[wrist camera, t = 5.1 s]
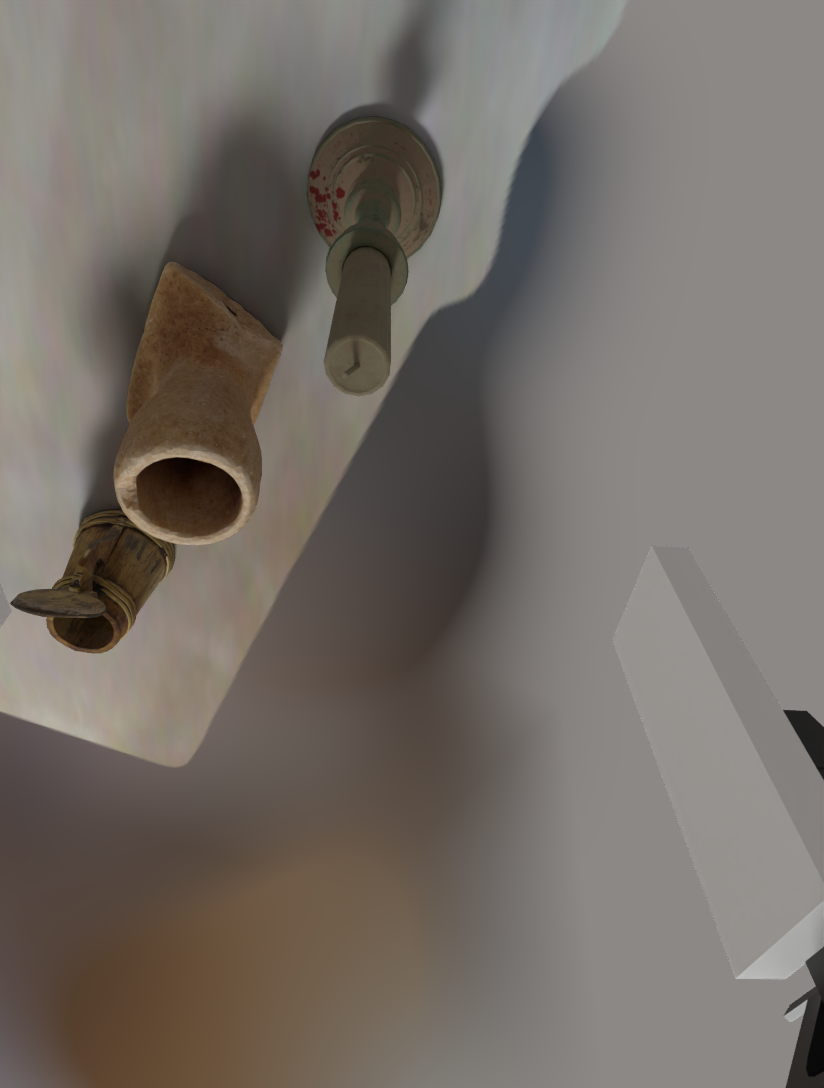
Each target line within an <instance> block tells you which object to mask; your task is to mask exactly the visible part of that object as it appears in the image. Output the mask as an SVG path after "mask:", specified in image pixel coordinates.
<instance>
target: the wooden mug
mask: <svg viewBox="0 0 824 1088" xmlns="http://www.w3.org/2000/svg"><path fill="white" fill-rule="evenodd" d="M73 548H74V549H73V551H72V554H71V557H70V559H69V562H68V564H67V567H66V570H65V572H64V575H63V577H62V579H60V580H58V581H57V582H56V583H55V585H54V586H53V587H52V589H39V590H31V591H27V592H23V593H20V594H19V595H17V596H16V598H15V599H14V600H13V601H12V602H11V603H10V604H11V605H12V606H14V607H15V608H17V609H19V610H21V611H23V612H26V613H30V614H33V615H38V616H42V617H47V619H46V621H47V628H48V630H49V632H50V634H51V635H52V636H53V637H54V638H55V639H56V640H57V641H59V642H60V643H62V644H64V645H65V646H67V647H69V648H71V649H73V650H75V651H81V652H87V653H103V652H106V651H108V650H110V649H112V648H113V647H114V646H115V645H116V644H117V643H118V642H119V640H120V639H122V638H124V637H125V635H126V634H127V633H128V632H129V630H130V629H131V628H132V626H133V625H134V623H135V620H136V615H137V614H138V612H139V611H140V609H141V608H142V606H143V605H144V604H145V602H146V601H147V599H148V598H149V596H150V595H151V594H152V592H153V591H154V589H155V588H156V586H157V585H158V584H159V583H160V582H161V581H162V580H163V579H164V578H165V577H166V576H167V575H168V573H169V572H170V571H171V569H172V567H173V564H174V561H175V551H174V547H173V544H172V543H170V542H167V541H164V540H161V539H158V538H156V537H153V536H151V535H150V534H148V533H146V532H145V531H143V530H141V529H140V528H139V527H137V526H136V525H135V524H134V523H133V522H132V521H131V520H130V519H129V518H128V517H127V516H126V514H125V513H124V512H123V511H119V510H113V511H103V512H99V513H95V514H93V515H91V516H89V517H87V518H85V519H84V520H83V522H82V524H81V525H80V527H79V529H78V531H77V533H76V535H75V537H74V543H73Z"/></svg>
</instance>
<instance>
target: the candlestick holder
mask: <svg viewBox="0 0 824 1088" xmlns="http://www.w3.org/2000/svg"><path fill="white" fill-rule="evenodd" d="M307 197H308V202H309V207H310V212H311V216H312V219H313V221H314V223H315V225H316V227H317V230H318V232H319V234H320V235H321V236H322V238H323V239H324V240H325V241H326V243H327V244H328V245H329V247H330V249H329V252H328V255H327V258H326V276H327V281H328V284H329V286H330V288H331V290H332V293H333V294H334V295H335V296H336V298H337V301H336V305H335V310H334V315H333V320H332V325H331V330H330V334H329V339H328V344H327V349H326V354H325V359H324V365H325V371H326V375H327V377H328V378H329V380H330V381H331V383H332V384H333V386H334V387H336V388H338V389H339V390H341V391H342V392H344V393H345V394H350V395H355V396H363V395H368V394H372V393H374V392H375V391H377V390H378V389H379V388H381V387H382V386H383V385H384V383H385V382H386V380H387V378H388V377H389V374H390V364H391V305H392V304H394V303H395V302H396V301H397V300H398V298H399V297H400V296H401V294H402V293H403V291H404V288H405V286H406V283H407V278H408V263H407V259H408V258H409V257H410V256H412V255H413V254H414V253H415V252H417V251H418V250H419V249H420V248H421V247H422V246H423V244H424V243H425V242H426V240H427V239H428V238H429V236H430V235H431V233H432V231H433V228H434V226H435V223H436V221H437V219H438V215H439V209H440V202H441V188H440V177H439V174H438V171H437V168H436V165H435V162H434V159H433V157H432V156H431V154H430V152H429V151H428V149H427V147H426V146H425V144H424V143H423V141H422V140H420V139H419V138H418V137H417V136H416V135H415V134H414V133H413V132H412V131H411V130H410V129H409V128H407V127H405V126H403V125H401V124H399V123H397V122H395V121H393V120H391V119H385V118H379V117H374V116H372V117H365V118H358V119H354V120H352V121H350V122H347V123H345V124H343V125H341V126H339V127H337V128H336V129H335V130H334V131H333V132H332V133H331V134H330V135H329V136H328V137H327V138H326V139H325V140H324V141H323V142H322V144H321V146H320V147H319V149H318V151H317V152H316V154H315V156H314V158H313V161H312V165H311V168H310V172H309V175H308V193H307Z"/></svg>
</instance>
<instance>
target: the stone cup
mask: <svg viewBox="0 0 824 1088" xmlns="http://www.w3.org/2000/svg"><path fill="white" fill-rule="evenodd" d="M281 351H282V344H281V342H280V341H279V340H278V339H277V338H276V337H274V336H272V335H271V334H270V333H269V332H268V331H267V329H266V328H265V327H264V326H263V325H262V323H261V322H260V321H259V320H256V319H255V318H254V317H253V316H252V315H251V314H250V313H248V312H247V311H245V310H244V309H243V307H242V306H241V305H240V304H238V303H237V302H235V301H233V300H231V299H230V298H228V297H227V296H226V294H225V293H224V292H223V291H222V290H220V289H219V288H218V287H217V286H215V285H214V284H212V283H210V282H208V281H206V280H204V279H203V278H202V277H201V276H200V275H199V274H197V273H195V272H193V271H191V270H189V269H187V268H185V267H183V266H181V265H180V264H178V263H176V262H169V263H167V264H166V265H165V267H164V269H163V272H162V275H161V278H160V281H159V283H158V286H157V289H156V291H155V294H154V297H153V300H152V303H151V305H150V309H149V313H148V317H147V320H146V323H145V328H144V333H143V335H142V338H141V341H140V344H139V347H138V351H137V354H136V358H135V361H134V365H133V369H132V373H131V378H130V383H129V388H128V393H127V400H126V413H127V420H128V422H129V423H130V424H129V426H128V429H127V431H126V433H125V435H124V438H123V440H122V442H121V445H120V448H119V450H118V453H117V457H116V460H115V464H114V470H113V479H114V486H115V492H116V496H117V500H118V502H119V504H120V506H121V508H122V510H123V512H124V513H125V514H126V516H127V517H128V518H129V519H130V520H131V521H132V522H133V523H134V524H135V525H136V526H137V527H139V528H140V529H141V530H143V531H145V532H146V533H148V534H150V535H151V536H153V537H156V538H158V539H161V540H164V541H167V542H170V543H176V544H183V545H205V544H210V543H215V542H218V541H221V540H223V539H226V538H228V537H230V536H232V535H234V534H235V533H237V532H238V531H240V530H241V528H242V527H243V526H244V525H245V524H246V523H247V522H248V521H249V519H250V517H251V515H252V514H253V512H254V510H255V508H256V505H257V501H258V496H259V489H260V481H261V477H262V457H261V449H260V446H259V442H258V439H257V436H256V433H255V430H254V427H253V425H254V423H255V421H256V419H257V416H258V414H259V412H260V409H261V406H262V403H263V401H264V398H265V395H266V393H267V390H268V387H269V384H270V381H271V378H272V375H273V372H274V369H275V367H276V365H277V363H278V361H279V358H280V356H281Z"/></svg>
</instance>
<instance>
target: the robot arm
mask: <svg viewBox="0 0 824 1088" xmlns="http://www.w3.org/2000/svg"><path fill="white" fill-rule="evenodd" d="M10 613H11V609H10V606H9V604H8V602H7V599H6V597H5V594H4V592H3V590H2V587H1V585H0V627H1V626H2V624H3V623H4V621H5V620H6V618H7V617H8V616H9V614H10ZM612 641H613V643H614V646H615V649H616V651H617V654H618V657H619V660H620V663H621V665H622V668H623V670H624V673H625V676H626V679H627V682H628V685H629V687H630V690H631V693H632V696H633V698H634V701H635V704H636V707H637V709H638V712H639V715H640V718H641V720H642V723H643V726H644V729H645V731H646V734H647V737H648V740H649V742H650V745H651V747H652V750H653V753H654V756H655V759H656V761H657V764H658V767H659V770H660V772H661V775H662V778H663V780H664V783H665V786H666V789H667V792H668V794H669V797H670V800H671V803H672V805H673V808H674V811H675V814H676V817H677V819H678V822H679V825H680V828H681V830H682V832H683V836H684V839H685V841H686V844H687V847H688V850H689V852H690V855H691V858H692V860H693V863H694V866H695V869H696V872H697V874H698V877H699V880H700V882H701V885H702V888H703V891H704V894H705V896H706V899H707V902H708V905H709V907H710V910H711V913H712V915H713V918H714V921H715V924H716V927H717V929H718V932H719V935H720V938H721V940H722V943H723V945H724V948H725V951H726V954H727V957H728V960H729V962H730V965H731V968H732V971H733V973H734V976H735V978H736V979H787V978H788V977H789V976H790V975H791V974H792V973H794V972H795V971H797V970H798V969H799V968H800V967H802V966H803V965H804V964H807V967H808V969H809V971H810V974H811V976H812V978H813V980H814V983H815V985H816V987H814V988H813V989H811V990H810V991H809V992H807V993H806V994H804V995H803V996H802V997H801V998H799V999H798V1000H796V1001H795V1002H793V1003H792V1004H791V1005H790V1006H789V1008H788V1009H787V1011H786V1013H785V1015H784V1018H786V1019H787V1020H788V1021H790V1022H793V1021H794V1020H796V1019H797V1018H798V1017H800V1016H801V1015H803V1014H804V1016H803V1020H802V1024H801V1029H800V1032H799V1036H798V1040H797V1044H796V1049H795V1052H794V1057H793V1061H792V1064H791V1069H790V1073H789V1077H788V1081H787V1085H786V1088H824V727H823V726H822V725H821V724H820V723H819V722H818V721H817V720H816V719H815V718H813V717H812V716H811V715H810V714H809V713H808V712H807V711H795V710H782V708H781V706H780V704H779V703H778V701H777V699H776V697H775V696H774V694H773V692H772V691H771V689H770V687H769V685H768V684H767V682H766V680H765V679H764V677H763V675H762V673H761V672H760V670H759V668H758V667H757V665H756V663H755V661H754V660H753V658H752V656H751V655H750V653H749V651H748V649H747V648H746V646H745V644H744V642H743V641H742V639H741V637H740V636H739V634H738V632H737V630H736V629H735V627H734V625H733V624H732V622H731V620H730V618H729V617H728V615H727V613H726V611H725V610H724V608H723V606H722V605H721V603H720V601H719V599H718V598H717V596H716V594H715V593H714V591H713V589H712V587H711V586H710V584H709V582H708V581H707V579H706V577H705V576H704V574H703V572H702V570H701V568H700V567H699V565H698V563H697V562H696V560H695V558H694V557H693V555H692V553H691V551H690V550H689V548H684V547H667V546H651V548H650V551H649V553H648V556H647V558H646V560H645V563H644V565H643V568H642V570H641V572H640V575H639V577H638V580H637V582H636V585H635V587H634V589H633V592H632V594H631V597H630V599H629V601H628V604H627V606H626V609H625V611H624V613H623V616H622V618H621V621H620V623H619V626H618V628H617V630H616V633H615V635H614V638H613V640H612Z"/></svg>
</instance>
